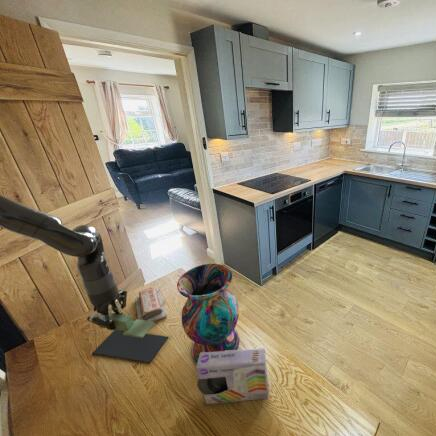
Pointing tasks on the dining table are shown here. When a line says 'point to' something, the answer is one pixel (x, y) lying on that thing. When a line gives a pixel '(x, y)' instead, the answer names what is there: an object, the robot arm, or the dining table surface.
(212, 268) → the vase
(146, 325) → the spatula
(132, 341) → the mat
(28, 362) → the dining table surface
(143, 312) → the packaged product
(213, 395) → the cake pan box
